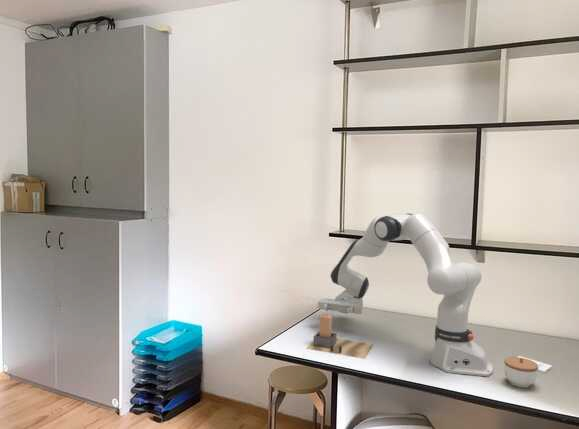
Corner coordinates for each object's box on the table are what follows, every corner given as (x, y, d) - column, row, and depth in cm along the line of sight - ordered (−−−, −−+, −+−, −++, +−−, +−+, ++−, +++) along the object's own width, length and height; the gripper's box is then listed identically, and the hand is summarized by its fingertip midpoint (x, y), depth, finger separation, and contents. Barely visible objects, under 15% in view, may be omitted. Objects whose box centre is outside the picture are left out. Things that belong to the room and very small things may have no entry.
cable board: (373, 346, 202) (374, 338, 202) (364, 361, 186) (364, 352, 186) (319, 337, 211) (319, 330, 211) (305, 350, 195) (306, 342, 195)
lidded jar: (540, 384, 170) (542, 358, 170) (530, 393, 163) (532, 366, 162) (509, 374, 178) (511, 350, 177) (498, 383, 170) (500, 357, 169)
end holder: (336, 342, 203) (336, 333, 202) (331, 348, 196) (331, 339, 195) (319, 339, 205) (319, 330, 205) (313, 345, 198) (313, 336, 198)
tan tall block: (331, 343, 202) (332, 310, 200) (328, 346, 198) (329, 313, 197) (321, 341, 203) (323, 309, 202) (318, 345, 199) (320, 311, 198)
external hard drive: (519, 359, 195) (552, 369, 186) (510, 364, 189) (544, 375, 180) (519, 355, 194) (552, 365, 185) (511, 360, 189) (545, 370, 180)
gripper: (322, 293, 227) (313, 300, 214) (365, 298, 219) (358, 306, 207) (322, 306, 227) (313, 314, 215) (365, 312, 220) (358, 320, 207)
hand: (335, 310), depth 211 cm, fingers open, 8 cm apart
